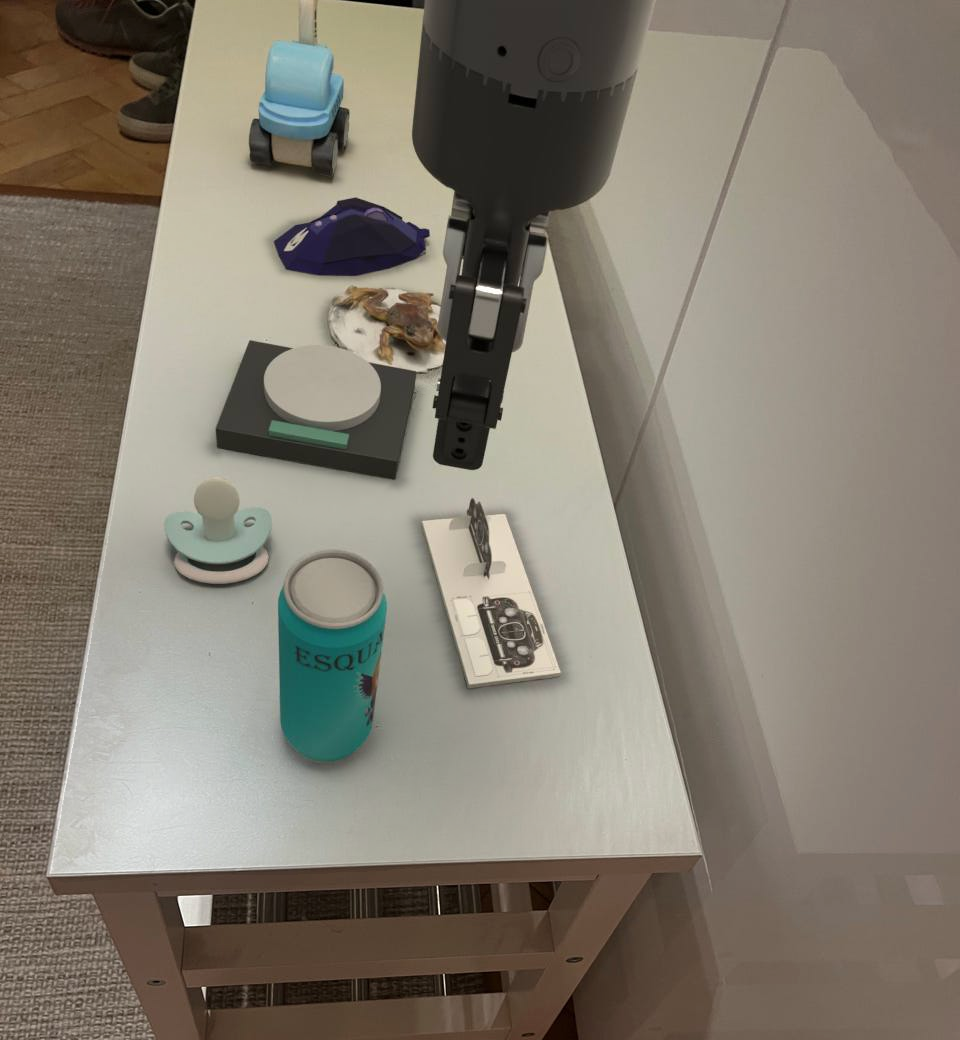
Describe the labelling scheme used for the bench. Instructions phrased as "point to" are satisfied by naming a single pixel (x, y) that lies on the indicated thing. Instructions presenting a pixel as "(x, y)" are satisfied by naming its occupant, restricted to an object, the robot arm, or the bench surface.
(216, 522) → the pacifier
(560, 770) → the bench surface
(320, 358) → the scale
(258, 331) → the bench surface
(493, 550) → the car cutout
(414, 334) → the frog figurine
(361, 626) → the beverage can
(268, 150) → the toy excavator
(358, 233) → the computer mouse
